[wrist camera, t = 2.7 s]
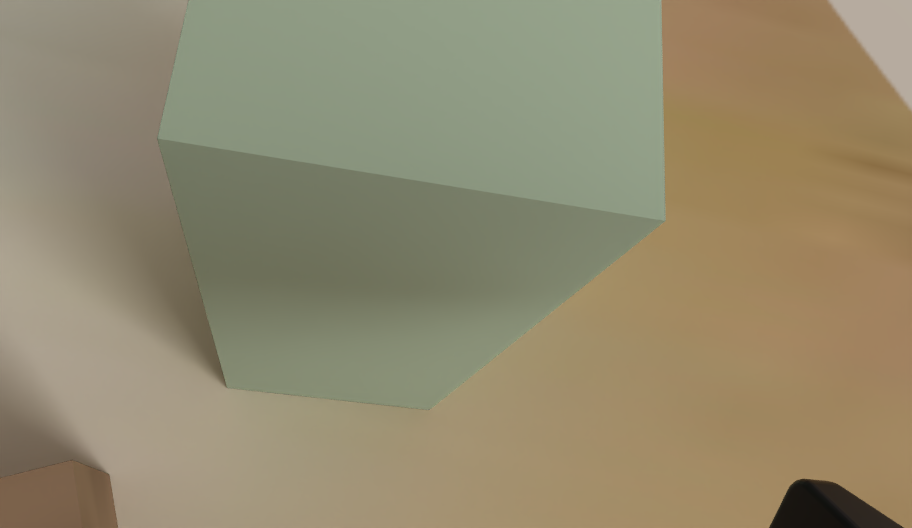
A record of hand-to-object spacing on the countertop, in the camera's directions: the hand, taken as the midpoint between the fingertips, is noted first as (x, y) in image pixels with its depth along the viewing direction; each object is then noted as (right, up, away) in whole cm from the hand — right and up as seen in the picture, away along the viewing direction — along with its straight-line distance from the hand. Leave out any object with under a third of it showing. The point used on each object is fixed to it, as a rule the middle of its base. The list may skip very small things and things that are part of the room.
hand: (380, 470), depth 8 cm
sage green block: (-2, +1, +13) cm, 13 cm away
